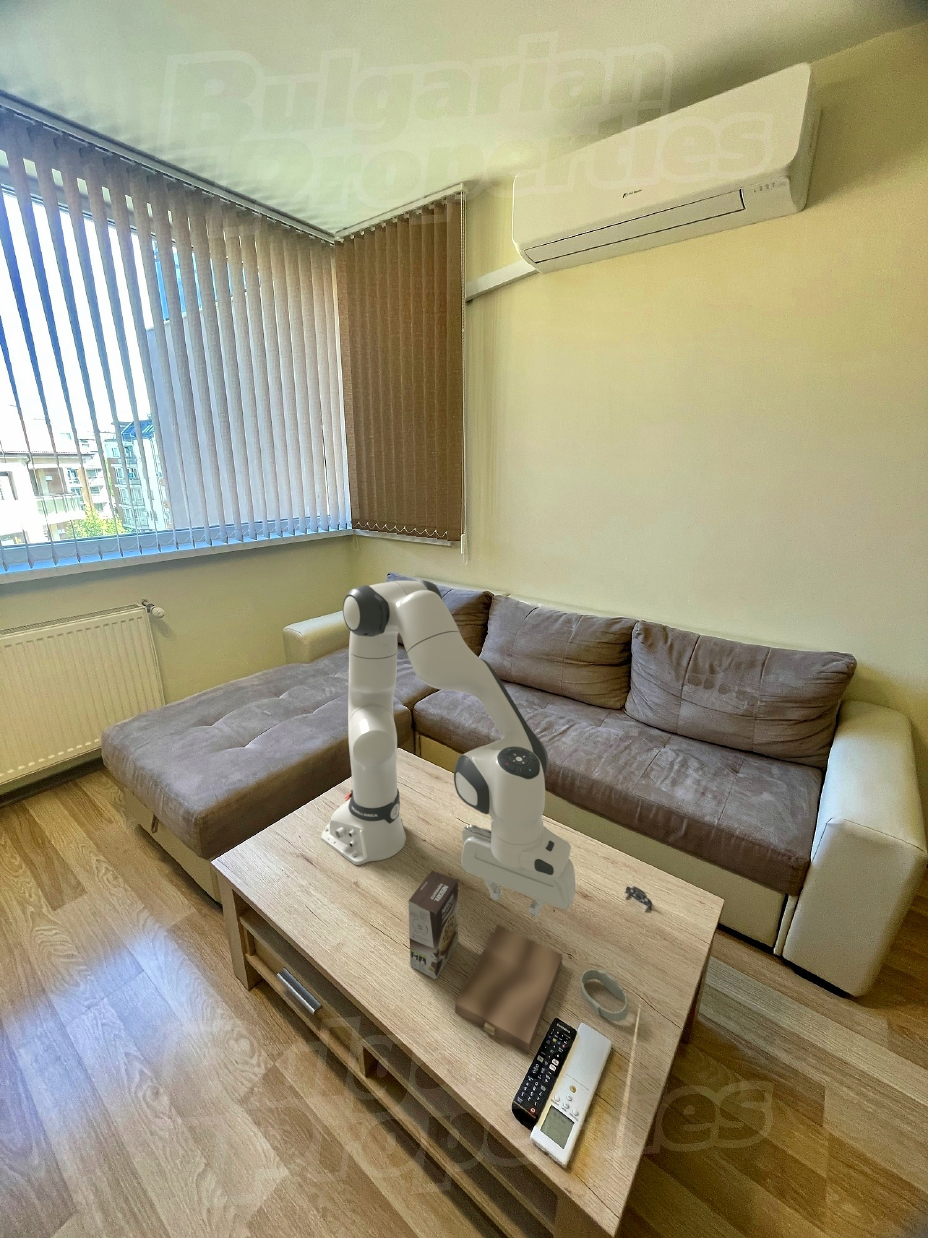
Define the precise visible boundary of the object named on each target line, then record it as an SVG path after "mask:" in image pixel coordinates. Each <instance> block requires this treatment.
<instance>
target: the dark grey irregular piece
mask: <svg viewBox="0 0 928 1238" xmlns="http://www.w3.org/2000/svg"><path fill="white" fill-rule="evenodd" d="M624 893H625V894H626V896H625V900H627V898H628V897H629V896H630V897H631V898H633V900H635V899H636V900H635V901H637V902H638V901H639V902H638V903H640V904H641V905H643V906H644V905H645V909H644V913H645V912H646V911H647V910H648V909H649V910H651V911H653V901H652V900H651V899H650V898H648V895H647V893H646V892H645V891H644V890H642V889H641V888H639V887H637V886H636V885H634V886H632V887H631V886H626V888H625V891H624Z"/></svg>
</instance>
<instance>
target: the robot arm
mask: <svg viewBox="0 0 928 1238" xmlns="http://www.w3.org/2000/svg"><path fill="white" fill-rule="evenodd" d="M448 608H449V607H447V605H446V604H445V602H444V600H443V597H442V593H441V591H440V590H439V587H438V586H437V585H436V584H434V583H433V582H431V581H428V580H424V579H414V580H390V581H387V582H381V583H380V582H379V583H376V584H375V583H374V584H371V585H367V584H364V585H360V586H356V587H355V588H352V589H350V590H348V591H347V593H346V595H345V597H344V599H343V603H342V614H343V619H344V622H345V625H346V627H347V629H348V630H350V631H349V632H350V633H349V640H348V641H349V643H348V644H349V645H348V694H347V696H348V699H347V701H348V703H347V704H348V705H347V706H348V707H347V712H348V713H347V722H348V723H347V725H348V726H347V729H348V731H347V732H348V751H349V759H350V768H351V782H352V784H351V785H352V789H351V790H350V793H348V794H347V795H346V796H345V797H344V799H345V800H344V803H342V804H341V805H340V806H338V808H337V809H336V810H334V812H333V813H332V815H331V818H330V821H329V822H328V824H327V825H326V826H325V828H324V829H323V830H322V831H321V835H320V840H321V841H322V842H323V843H324V842H325V843H324V844H326V845H327V846H328V845H329V846H328V847H330V848H331V847H332V848H333V849H332V848H331V849H332V850H334V851H335V850H336V851H335V852H337V853H338V854H339V853H340V854H339V855H340V856H342V855H343V856H344V857H343V856H342V857H343V858H345V860H346V859H347V861H349V862H350V863H351V864H353V865H355V866H360V865H364V864H365V863H368V862H373V861H374V862H376V861H382V860H386V859H388V858H391V857H393V856H395V855H396V854H397V853H399V852H400V851H401V850H402V849H403V847H404V846H405V844H406V839H407V836H406V832H405V829H404V826H403V823H402V817H401V813H400V808H401V801H400V800H401V799H400V798H401V797H400V790H399V788H398V775H397V773H398V772H397V769H398V768H397V759H398V734H397V728H396V724H395V717H394V697H395V689H396V684H397V670H398V669H397V668H398V634H399V635H400V637H401V640H402V643H403V646H404V648H405V651H406V654H407V658H408V661H409V663H410V665H411V667H412V670H413V672H414V673H415V675H416V677H417V678H418V680H420V681H421V682H422V683H424V684H425V685H427V686H429V687H431V688H434V689H438V690H442V691H452V692H460V693H464V694H467V695H469V696H472V697H474V698H476V699H477V700H479V701H480V702H481V704H482V705H483V707H484V708H485V710H486V712H487V715H489V717H490V719H491V720H492V722H493V724H494V725H495V727H496V729H497V731H498V732H499V734H500V737H501V739H498V740H495V741H493V742H491V743H488V744H486V745H482V746H478V747H476V748H473V749H471V750H468V751H467V752H465V753H462V755H459V756H458V758H457V760H456V763H455V766H454V771H453V781H454V782H453V783H454V788H455V791H456V793H457V795H458V798H460V800H461V801H462V802H463V803H465V804H466V805H468V807H471V808H473V809H475V810H476V811H477V812H479V813H482V814H484V815H489V816H490V818H491V822H490V829H487V828H484V827H483V828H482V827H480V826H478V825H475V824H470V825H466V826H464V827H463V828H462V833H461V835H462V836H461V837H462V838H461V839H462V843H463V846H462V851H461V857H460V858H461V859H460V866H461V868H462V869H463V871H464V872H465V873H467V874H469V875H473V876H474V877H477V878H480V879H483V880H484V884H485V885H486V887H487V888H488V890H489V893H490V894H489V895H490V896H489V897H490V899H491V900H495V901H497V902H499V901H500V898H501V897H502V888H506V889H509V890H512V891H514V892H517V893H519V894H522V895H524V896H526V897H529V898H532V899H533V900H532V901H531V904H530V906H529V914H530V915H531V916H534V917H537V918H538V917H539V915H540V913H541V909H542V908H543V907H544V906H545V904H547V905H550V906H553V907H555V908H557V909H561V910H562V911H566V910H568V909H570V908H571V907H572V903H573V902H574V897H575V895H576V894H575V893H576V874H575V867H574V865H573V862H572V860H571V859H570V856H571V851H572V849H571V848H572V846H571V844H570V843H569V842H568V841H567V840H565V839H563V838H562V837H560V836H558V835H557V834H555V833H554V832H553V831H551V830H550V829H548V828H547V827H546V826H545V825H544V821H543V820H544V819H543V813H544V812H545V811H544V810H545V807H546V783H545V782H546V781H545V777H546V774H547V771H548V767H549V755H548V751H547V749H546V747H545V745H544V744H543V742H542V741H541V740H540V737H538V736H537V734H536V733H535V732H534V731H533V730H532V729H531V727H530V726H529V724H528V723H527V721H526V720H525V718H524V716H523V715H522V713H521V711H520V710H519V708H518V707H517V705H516V703H515V702H514V700H513V698H512V696H511V694H510V693H509V692H508V690H507V688H506V686H505V685H504V683H503V682H502V680H501V679H500V677H499V675H498V674H497V672H496V671H495V669H494V667H492V665H491V664H490V663H489V662H487V660H485V659H482V658H481V657H479V656H478V655H476V654H475V653H474V652H473V650H471V648H470V647H469V646H468V645H467V643H466V642H465V640H464V639H463V637H462V635H461V631H460V629H459V628H458V625H457V623H456V621H455V620H454V619H455V618H454V617H453V615H452V614H451V611H450V610H449V609H448Z"/></svg>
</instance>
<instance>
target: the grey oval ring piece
mask: <svg viewBox="0 0 928 1238" xmlns="http://www.w3.org/2000/svg"><path fill="white" fill-rule="evenodd" d="M590 980H597V981H599V982H600V983H601V984H602V985H603V986H604V987H605V989H606V990H608V991H609V992H610V993H611V994H613V995H614V997H616V999H621V1000H622V1001H624V1006H623V1008H622V1009H621V1010H618V1011H610V1010H607V1009H605V1008H604V1007H602V1006H601V1005H600V1004H599V1003H598V1002H597V1001H596V1000H595V999H594V998H592V996H590V995H589V994H588V992H587V990H586V989H585V985H586V983H587V982H588V981H590ZM580 986H581V990H582V995H583V998H584V1000H585V1001H586V1003H587V1004H588V1005H589V1006H590V1007H591V1009H592V1010H593V1011H594V1012H595V1014H597V1015H598V1016H599V1017H601V1016H602V1017H604V1018H606V1019H607V1020H609V1021H612V1022H621V1021H623V1020H625V1019H626V1018H627V1016H628V1015H629V1009H630V1008H629V1003H628V998H627V995H626V993H625V991H624V988H623V987H622V985H621V984H620V983H619V982H618V980H617V979H616V978H614V977H613V976H612V975H611V974H609V973H608V972H606V971H605V970H601V969H596V968H589V969H586V970H585V971H584V972H583V973H582V975H581V976H580Z"/></svg>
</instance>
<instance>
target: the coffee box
mask: <svg viewBox="0 0 928 1238" xmlns="http://www.w3.org/2000/svg"><path fill="white" fill-rule="evenodd" d="M408 931H409V932H408V933H409V934H408V935H409V936H408V937H409V938H408V939H409V965H410V967H412V968H414V970H417V971H419V972H420V973H422V974H424V975H426V976H428V977H430V978H431V979H433V980H437V979H438V978H439V976H440V975H441V973H442V971H443V969H444V967H446V964H447V963H448V961H449V959H450V958H451V956H452V954H453V952H454V950H455V949H456V948H457V946H458V944H459V880H457V879H455V878H454V877H451V876H449V875H446V874H443V873H440V872H438V871H435V870H434V869H431V871H430V872H429V873H428V874H427V876H426V877H425V878H424V880H423V881H422V882H421V884H420V885H419V886H418V887H417V889H416V890H415V892H414V893H413V894H412V896H411V897H410V898H409V899H408Z"/></svg>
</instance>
